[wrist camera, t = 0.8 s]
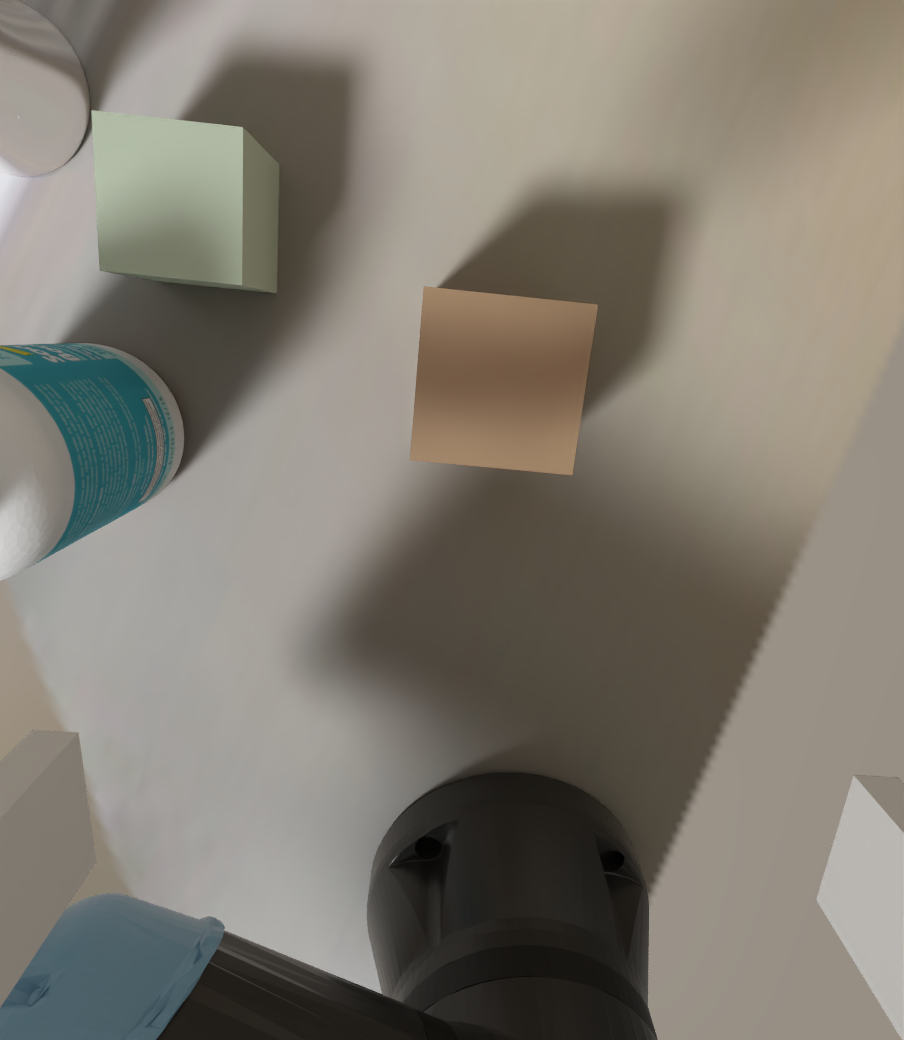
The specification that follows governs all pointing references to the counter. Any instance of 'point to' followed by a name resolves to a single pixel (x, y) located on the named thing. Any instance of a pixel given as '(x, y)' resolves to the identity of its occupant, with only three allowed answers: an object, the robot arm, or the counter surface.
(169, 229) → the sage block
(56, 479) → the pill bottle
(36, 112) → the beer glass
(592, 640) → the counter surface
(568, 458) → the walnut block
